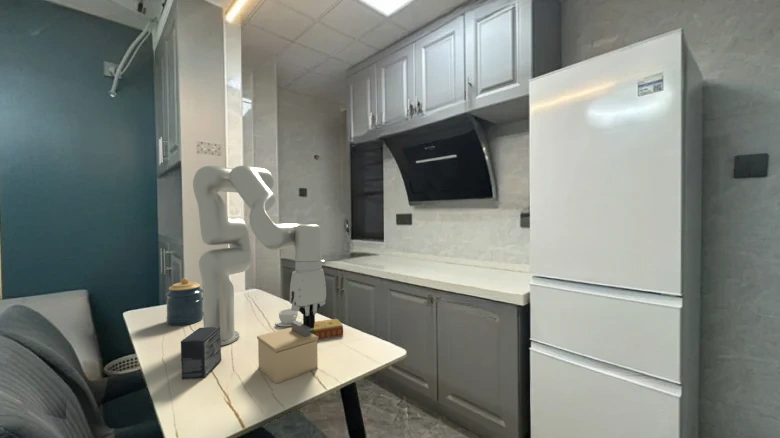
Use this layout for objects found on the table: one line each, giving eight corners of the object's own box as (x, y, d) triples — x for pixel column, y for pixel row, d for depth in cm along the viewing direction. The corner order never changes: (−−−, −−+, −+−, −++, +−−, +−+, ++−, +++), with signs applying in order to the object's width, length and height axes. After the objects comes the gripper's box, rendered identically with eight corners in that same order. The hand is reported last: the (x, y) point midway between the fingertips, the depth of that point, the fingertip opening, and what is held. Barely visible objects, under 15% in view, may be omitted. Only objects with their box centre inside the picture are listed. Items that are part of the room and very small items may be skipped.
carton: (343, 336, 118) (343, 324, 118) (297, 343, 112) (297, 331, 112) (337, 329, 126) (337, 317, 126) (294, 335, 120) (294, 323, 120)
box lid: (257, 338, 94) (257, 327, 94) (297, 328, 102) (297, 318, 102) (275, 352, 85) (275, 340, 85) (318, 339, 93) (318, 328, 93)
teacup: (270, 323, 132) (270, 312, 132) (292, 317, 139) (292, 306, 139) (284, 329, 125) (283, 317, 125) (306, 322, 133) (306, 311, 133)
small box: (199, 361, 98) (198, 326, 98) (222, 360, 99) (221, 326, 98) (179, 379, 88) (179, 340, 87) (205, 378, 88) (204, 339, 88)
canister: (158, 324, 131) (157, 280, 131) (187, 314, 143) (186, 274, 143) (183, 327, 127) (182, 282, 127) (211, 317, 140) (210, 275, 139)
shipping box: (258, 367, 94) (258, 339, 94) (297, 355, 102) (297, 329, 102) (276, 383, 85) (276, 353, 85) (317, 368, 93) (317, 340, 93)
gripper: (323, 262, 106) (324, 318, 106) (278, 267, 95) (279, 330, 96) (336, 264, 100) (337, 324, 100) (290, 270, 90) (291, 337, 90)
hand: (309, 327), depth 98 cm, fingers closed
